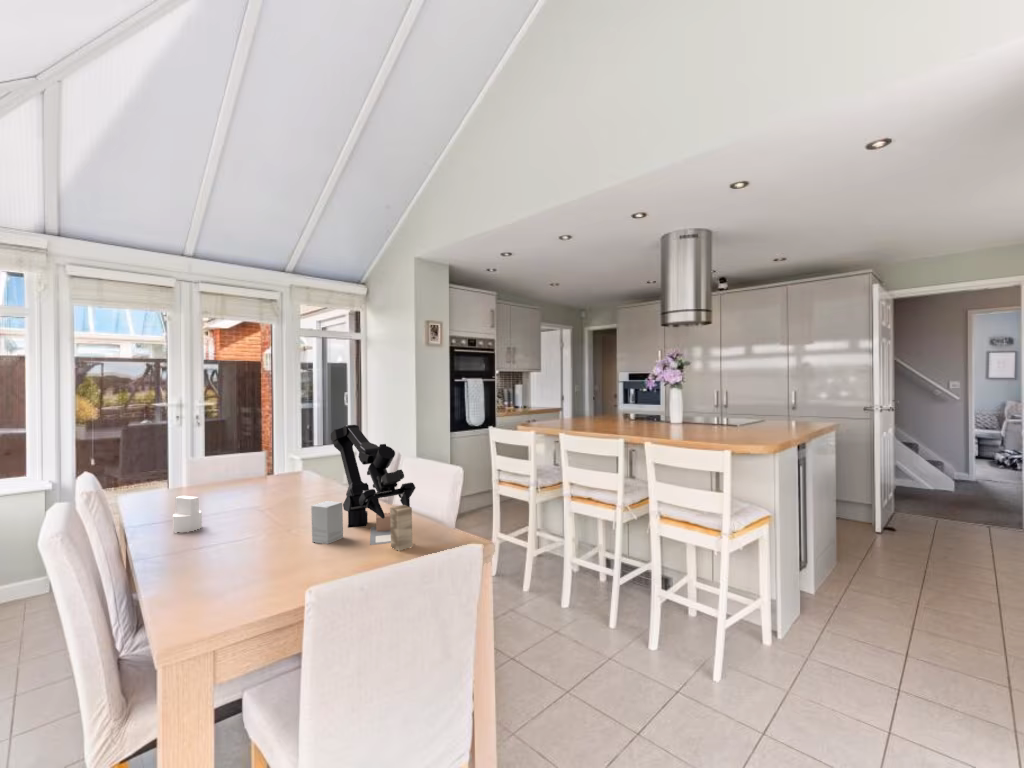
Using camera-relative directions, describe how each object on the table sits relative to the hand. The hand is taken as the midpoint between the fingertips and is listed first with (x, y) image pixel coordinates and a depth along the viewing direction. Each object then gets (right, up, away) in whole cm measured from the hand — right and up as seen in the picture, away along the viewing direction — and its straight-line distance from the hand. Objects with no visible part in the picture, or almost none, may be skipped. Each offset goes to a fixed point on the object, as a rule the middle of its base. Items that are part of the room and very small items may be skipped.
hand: (396, 515), depth 158 cm
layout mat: (-7, -10, +11) cm, 16 cm away
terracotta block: (-9, -10, +17) cm, 21 cm away
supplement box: (-25, -11, +6) cm, 28 cm away
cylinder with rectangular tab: (-83, -11, +21) cm, 86 cm away
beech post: (+2, -10, -2) cm, 10 cm away
